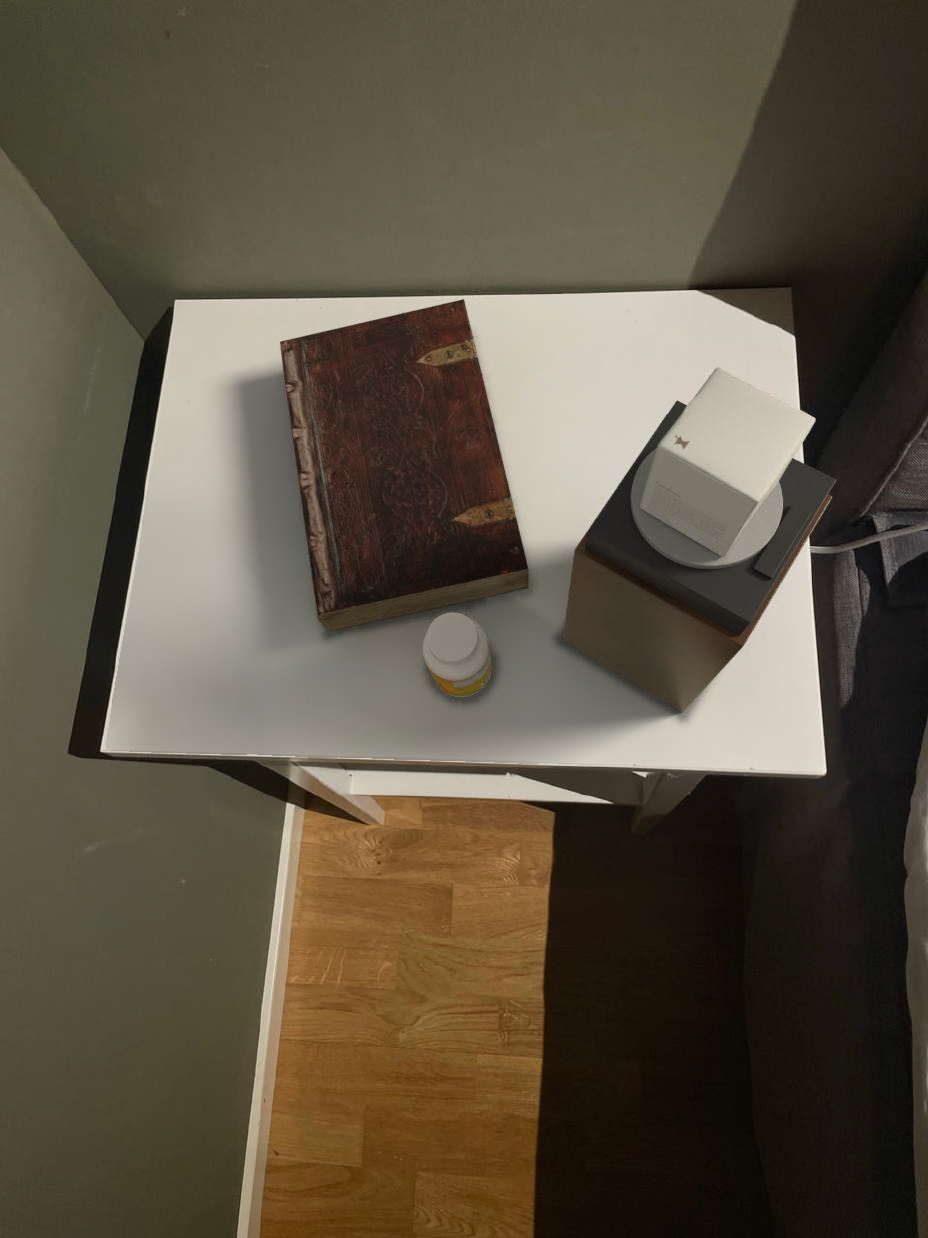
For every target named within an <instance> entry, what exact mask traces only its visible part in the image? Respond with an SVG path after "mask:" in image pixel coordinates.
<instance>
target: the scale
mask: <svg viewBox="0 0 928 1238" xmlns="http://www.w3.org/2000/svg"><path fill="white" fill-rule="evenodd" d="M687 405H688V404H685V402H684V403H683V402H681V401H679V400H676V401H675V402H674V404H673V405H672V407H671V408H670V410H669V411H668V412H667V413H666V414H665V416H666V417H665V416H664V417H665V418H664V417H663V419H664V420H663V419H662V420H663V421H662V420H661V422H662V423H661V422H660V423H661V424H660V423H659V425H660V426H659V425H658V426H659V427H658V426H657V428H658V429H657V428H656V429H657V430H656V429H655V431H656V432H655V431H654V432H655V433H654V432H653V434H654V435H653V434H652V435H653V436H652V435H651V437H652V438H651V437H650V438H651V439H650V438H649V440H648V441H649V442H648V441H647V442H648V443H646V444H647V445H646V444H645V445H646V446H645V445H644V447H645V448H644V447H643V448H644V449H643V448H642V450H643V451H642V450H641V451H642V452H641V451H640V453H641V454H640V453H639V454H640V455H639V454H638V456H639V457H638V456H637V457H638V458H637V457H636V459H637V460H636V459H635V460H636V461H635V460H634V462H635V463H634V462H633V463H634V464H633V463H632V464H631V466H632V467H631V466H630V467H631V468H630V467H629V469H630V470H629V469H628V470H629V471H628V470H627V472H628V473H627V472H626V473H627V474H626V473H625V475H626V476H625V475H624V476H625V477H624V476H623V478H624V479H623V478H622V479H623V480H622V479H621V481H622V482H621V481H620V482H621V483H620V482H619V484H620V485H619V484H618V485H619V486H618V485H617V487H618V488H617V487H616V488H617V489H616V488H615V490H616V491H615V490H614V491H615V492H614V491H613V492H614V493H612V494H613V495H612V494H611V495H612V496H610V497H611V498H610V497H609V498H610V499H609V498H608V500H609V501H608V500H607V501H608V502H607V501H606V503H607V504H606V503H605V504H606V505H605V504H604V506H605V507H604V506H603V507H604V508H603V507H602V509H603V510H602V509H601V510H602V511H601V510H600V512H601V513H600V512H599V513H600V514H599V513H598V515H599V516H598V515H597V516H598V517H597V516H596V517H597V518H596V517H595V519H596V520H595V519H594V520H595V521H594V520H593V522H594V523H593V522H592V523H593V524H591V525H592V526H591V525H590V526H591V527H589V528H590V529H589V528H588V529H589V530H588V529H587V531H588V533H587V539H586V545H585V548H587V549H588V550H590V551H592V552H594V553H595V554H597V555H599V556H601V557H602V558H604V559H606V560H608V561H609V562H611V563H613V564H615V565H616V566H618V567H620V568H622V569H623V570H625V571H627V572H629V573H630V574H632V575H634V576H636V577H638V578H639V579H641V580H643V581H645V582H646V583H648V584H650V585H652V586H653V587H655V588H657V589H659V590H660V591H662V592H664V593H666V594H667V595H669V596H671V597H673V598H674V599H676V600H678V601H680V602H681V603H683V604H685V605H687V606H689V607H690V608H692V609H694V610H696V611H697V612H699V613H701V614H703V615H704V616H706V617H708V618H710V619H711V620H713V621H715V622H717V623H718V624H720V625H722V626H724V627H725V628H727V629H729V630H731V631H732V632H734V633H736V634H738V635H741V634H742V633H743V631H744V630H745V629H746V628H747V627H748V626H749V624H750V623H751V622H752V620H753V619H754V617H755V615H756V614H757V612H758V610H759V609H760V607H761V605H762V604H763V602H764V600H765V599H766V597H767V595H768V594H769V592H770V590H771V589H772V587H773V585H774V584H775V582H776V580H777V579H778V577H779V575H780V574H781V572H782V570H783V569H784V567H785V565H786V564H787V562H788V560H789V559H790V557H791V555H792V554H793V552H794V550H795V549H796V547H797V545H798V544H799V542H800V540H801V539H802V537H803V535H804V534H805V532H806V530H807V529H808V527H809V525H810V524H811V522H812V520H813V519H814V517H815V515H816V514H817V512H818V510H819V509H820V507H821V505H822V504H823V502H824V500H825V499H826V497H827V495H828V494H829V493H830V492H831V490H832V489H833V487H834V485H835V483H836V482H837V479H836V478H834V477H832V476H830V475H828V474H826V473H824V472H822V471H820V470H818V469H816V468H814V467H812V466H810V465H808V464H806V463H803V462H802V461H799V460H797V458H794V457H793V458H792V459H791V461H790V463H789V464H788V466H787V468H786V469H785V471H784V473H783V474H782V476H781V478H780V479H779V481H778V483H777V485H776V486H775V487H774V489H773V490H772V491H771V492H770V494H769V495H768V496H767V497H766V499H765V500H764V501H763V503H762V504H761V505H760V507H759V508H758V510H757V511H756V512H755V514H754V515H753V517H752V518H751V519H750V521H749V522H748V523H747V525H746V526H745V528H744V529H743V531H742V532H741V534H740V535H739V537H738V538H737V539H736V541H735V543H734V544H733V546H732V547H731V549H730V550H729V552H728V554H727V555H726V556H725V557H722V556H720V555H718V554H717V553H715V552H713V551H712V550H710V549H708V548H706V547H705V546H703V545H701V544H700V543H698V542H696V541H695V540H693V539H691V538H689V537H688V536H686V535H684V534H683V533H681V532H679V531H678V530H676V529H674V528H673V527H671V526H669V525H668V524H666V523H664V522H663V521H661V520H659V519H657V518H656V517H654V516H652V515H651V514H649V513H647V512H646V511H644V510H642V509H641V508H640V503H641V500H642V496H643V493H644V489H645V486H646V483H647V480H648V476H649V473H650V470H651V467H652V463H653V460H654V457H655V453H656V450H657V447H658V444H659V443H660V441H661V440H662V439H663V437H664V436H665V435H666V434H667V432H668V431H669V430H670V428H671V427H672V426H673V424H674V423H675V422H676V420H677V419H678V418H679V416H680V415H681V414H682V412H683V411H684V409H685V408H686V406H687ZM829 495H830V494H829Z"/></svg>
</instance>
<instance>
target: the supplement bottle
mask: <svg viewBox="0 0 928 1238" xmlns="http://www.w3.org/2000/svg"><path fill="white" fill-rule="evenodd" d="M422 655H423V660H424V662H425V664H426V666H427V669H428V670H429V672H430V675H431V676H432V678H433V680H434V683H435V684H436V685H437V687H438V689H440V690H441V691H443V692H444V693H445V694H447V695H450V696H451V697H457V698H465V697H471V696H473V695H476V694H478V693H479V692H480V691H482V690H483V689H484V688H485V687H486V686H487V685H488V683H489V682H490V679H491V677H492V673H493V659H492V653H491V649H490V643H489V639H488V636H487V633H486V631H485V630H484V629H483V627H482V626H481V625H480V624H479V623H478V622H477V621H475V620H474V619H472V618H470V617H468V616H467V615H466V614H463V613H460V612H454V611H453V612H452V611H451V612H446V613H443V614H441V615H439V616H437V617H436V618H434V620H433V621H432V622H431V623H430V625H429V627H428V629H427V631H426V633H425V635H424V638H423V641H422Z"/></svg>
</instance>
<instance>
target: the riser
mask: <svg viewBox="0 0 928 1238" xmlns="http://www.w3.org/2000/svg"><path fill="white" fill-rule="evenodd" d="M665 417H666V415H664V417H663V419H662V420H661V422H660V423H659V425H658V426H657V428H656V429H655V431H654V432H653V434H652V435H651V436H650V437H649V440H650V439H651V438H652V436H653V435H654V433H655V432H656V430H657V429H658V427H659V426H660V424H661V423H662V421H663V420H664V418H665ZM649 440H648V441H647V443H648V442H649ZM647 443H646V444H645V445H644V447H643V448H642V450H641V451H640V452H639V454H638V456H637V457H636V458H635V460H634V462H633V463H632V465H633V464H634V463H635V461H636V460H637V458H638V457H639V455H640V454H641V452H642V451H643V449H644V448H645V446H646V445H647ZM632 465H631V466H630V467H629V469H628V470H627V472H626V473H625V474H624V476H623V478H622V479H621V480H620V482H619V483H618V485H617V487H615V490H614V491H613V493H614V492H615V491H616V489H617V488H618V486H619V485H620V483H621V482H622V480H623V479H624V477H625V476H626V474H627V473H628V471H629V470H630V468H631V467H632ZM613 493H612V494H611V496H612V495H613ZM611 496H610V497H609V498H608V500H607V501H606V503H605V504H604V506H603V507H602V508H601V510H600V512H599V513H598V514H597V516H596V517H595V519H594V520H593V522H592V524H593V523H594V521H595V520H596V518H597V517H598V516H599V514H600V513H601V511H602V510H603V508H604V507H605V505H606V504H607V502H608V501H609V499H610V498H611ZM832 500H833V496H832V495H831V494H828V495H827V497H826V499H825V500H824V502H823V504H822V505H821V507H820V509H819V510H818V512H817V514H816V515H815V517H814V519H813V520H812V522H811V524H810V525H809V527H808V529H807V530H806V532H805V534H804V535H803V537H802V539H801V540H800V542H799V544H798V545H797V547H796V549H795V550H794V552H793V554H792V555H791V557H790V559H789V560H788V562H787V564H786V565H785V567H784V569H783V570H782V572H781V574H780V575H779V577H778V579H777V580H776V582H775V584H774V585H773V587H772V589H771V590H770V592H769V594H768V595H767V597H766V599H765V600H764V602H763V604H762V605H761V607H760V609H759V610H758V612H757V614H756V615H755V617H754V619H753V620H752V622H751V623H750V624H749V626H748V627H747V628H746V629H745V630H744V631H743V633H742V634H741V635H738V634H736V633H734V632H732V631H731V630H729V629H727V628H725V627H724V626H722V625H720V624H718V623H717V622H715V621H713V620H711V619H710V618H708V617H706V616H704V615H703V614H701V613H699V612H697V611H696V610H694V609H692V608H690V607H689V606H687V605H685V604H683V603H681V602H680V601H678V600H676V599H674V598H673V597H671V596H669V595H667V594H666V593H664V592H662V591H660V590H659V589H657V588H655V587H653V586H652V585H650V584H648V583H646V582H645V581H643V580H641V579H639V578H638V577H636V576H634V575H632V574H630V573H629V572H627V571H625V570H623V569H622V568H620V567H618V566H616V565H615V564H613V563H611V562H609V561H608V560H606V559H604V558H602V557H601V556H599V555H597V554H595V553H594V552H592V551H590V550H588V549H587V548H585V545H586V539H587V533H588V530H589V529H590V527H591V526H592V524H591V525H590V527H589V528H588V529H587V531H586V532H585V533H584V535H583V536H582V538H581V539H580V541H579V543H578V544H577V545H576V546H575V548H574V551H573V558H572V567H571V573H570V581H569V589H568V594H567V595H568V597H567V602H566V603H567V604H566V611H565V619H564V626H563V635H562V641H563V642H565V643H566V644H568V645H570V646H571V647H573V648H575V649H576V650H578V651H580V652H581V653H583V654H585V656H587V657H589V658H591V659H593V660H595V661H596V662H598V664H599V663H600V664H601V665H603V666H604V667H606V668H607V669H609V670H611V671H613V672H614V673H616V674H618V675H619V676H621V677H622V678H624V679H626V680H627V681H629V682H631V683H633V684H634V685H635V686H637V687H639V688H641V690H644V691H646V692H647V693H649V694H650V695H652V696H654V697H656V698H657V699H658V700H660V701H662V702H664V703H665V704H667V705H668V706H670V707H672V708H673V709H675V710H677V711H678V712H680V713H684V712H685V711H686V710H687V709H688V708H689V707H690V706H691V705H692V703H693V702H694V701H695V700H696V699H697V698H698V697H699V696H700V695H701V694H702V692H704V690H705V689H706V688H707V687H708V686H709V685H710V684H711V683H712V682H713V680H714V679H715V678H716V677H717V676H718V675H719V674H720V673H721V672H722V670H723V669H725V667H726V666H727V665H728V664H729V663H730V662H731V661H732V660H733V658H734V657H735V656H736V655H738V653H739V652H740V651H741V650H742V648H744V646H745V645H746V643H747V641H748V640H749V638H750V636H751V635H752V633H753V631H754V630H755V628H756V626H757V625H758V623H759V621H760V620H761V618H762V616H763V614H764V613H765V612H766V610H767V608H768V606H769V605H770V603H771V601H772V600H773V598H774V596H775V595H776V594H777V591H778V589H779V588H780V586H781V584H782V583H783V581H784V580H785V578H786V576H787V574H788V573H789V571H790V569H791V568H792V566H793V564H794V562H795V561H796V560H797V558H798V556H799V554H800V553H801V551H802V549H803V548H804V546H805V544H806V542H808V540H809V538H810V536H811V535H812V532H813V531H814V529H815V528H816V526H817V524H818V523H819V521H820V520H821V518H822V516H823V514H824V512H825V511H826V509H827V508H828V506H829V504H830V503H831V501H832Z"/></svg>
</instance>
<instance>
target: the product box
mask: <svg viewBox="0 0 928 1238" xmlns="http://www.w3.org/2000/svg"><path fill="white" fill-rule="evenodd" d="M686 405H687V406H686V408H685V409H684V411H683V412H682V414H681V415H680V416H679V418H678V419H677V420H676V422H675V423H674V424H673V426H672V427H671V428H670V430H669V431H668V432H667V434H666V435H665V436H664V437H663V439H662V440H661V441H660V443H659V444H658V447H657V450H656V453H655V457H654V460H653V463H652V467H651V470H650V473H649V476H648V480H647V483H646V486H645V489H644V493H643V496H642V500H641V503H640V508H641V509H642V510H644V511H646V512H647V513H649V514H651V515H652V516H654V517H656V518H657V519H659V520H661V521H663V522H664V523H666V524H668V525H669V526H671V527H673V528H674V529H676V530H678V531H679V532H681V533H683V534H684V535H686V536H688V537H689V538H691V539H693V540H695V541H696V542H698V543H700V544H701V545H703V546H705V547H706V548H708V549H710V550H712V551H713V552H715V553H717V554H718V555H720V556H722V557H725V556H726V555H727V554H728V552H729V550H730V549H731V547H732V546H733V544H734V543H735V541H736V539H737V538H738V537H739V535H740V534H741V532H742V531H743V529H744V528H745V526H746V525H747V523H748V522H749V521H750V519H751V518H752V517H753V515H754V514H755V512H756V511H757V510H758V508H759V507H760V505H761V504H762V503H763V501H764V500H765V499H766V497H767V496H768V495H769V494H770V492H771V491H772V490H773V489H774V487H775V486H776V485H777V483H778V481H779V479H780V478H781V476H782V474H783V473H784V471H785V469H786V468H787V466H788V464H789V463H790V461H791V459H792V458H794V456H795V455H796V453H797V452H798V450H799V449H800V448H801V446H802V445H803V443H804V441H805V440H806V438H807V437H808V435H809V433H810V432H811V430H812V428H813V426H814V425H815V423H816V418H815V417H814V416H812V415H811V414H808V413H807V412H805V411H803V410H802V409H799V408H798V407H796V406H793V405H791V404H790V403H788V402H786V401H785V400H782V399H780V398H779V397H776V396H774V395H772V394H770V393H768V392H766V391H764V390H762V389H760V388H758V387H756V386H755V385H754V384H753V385H752V384H751V383H748V382H747V381H745V380H744V379H741V378H739V377H738V376H736V375H734V374H731V373H730V372H728V371H726V370H724V369H722V368H720V367H716V368H714V370H713V371H712V372H711V374H710V375H709V376H708V378H707V379H706V380H705V382H704V383H703V384H702V386H701V387H700V389H699V390H698V391H697V393H696V394H695V395H694V397H693V398H692V399H691V400H690V401H689V402H688V404H686Z"/></svg>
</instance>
